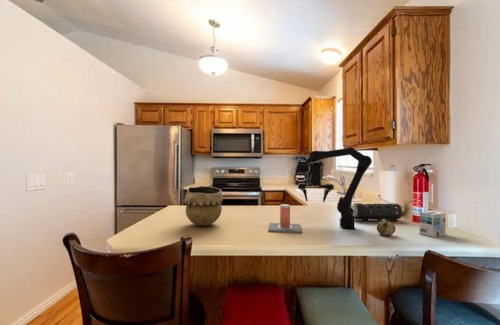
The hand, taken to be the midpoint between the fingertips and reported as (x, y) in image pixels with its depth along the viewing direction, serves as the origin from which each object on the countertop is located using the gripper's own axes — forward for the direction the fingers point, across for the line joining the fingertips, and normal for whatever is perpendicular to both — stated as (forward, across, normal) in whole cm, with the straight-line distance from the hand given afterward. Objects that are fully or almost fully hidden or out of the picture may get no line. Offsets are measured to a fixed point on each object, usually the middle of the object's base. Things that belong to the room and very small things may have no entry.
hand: (315, 202), depth 147 cm
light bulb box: (+12, -54, +12) cm, 57 cm away
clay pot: (+12, +59, +14) cm, 62 cm away
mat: (+12, +16, +14) cm, 24 cm away
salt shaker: (+11, +16, +14) cm, 24 cm away
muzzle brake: (+12, -36, -14) cm, 41 cm away
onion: (+12, -31, +17) cm, 37 cm away
